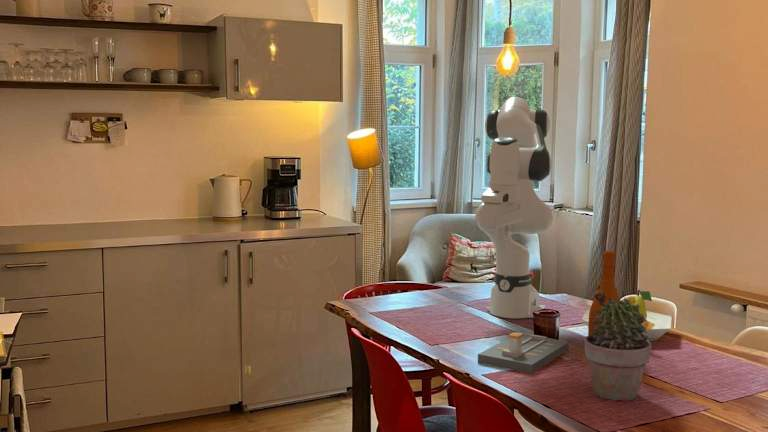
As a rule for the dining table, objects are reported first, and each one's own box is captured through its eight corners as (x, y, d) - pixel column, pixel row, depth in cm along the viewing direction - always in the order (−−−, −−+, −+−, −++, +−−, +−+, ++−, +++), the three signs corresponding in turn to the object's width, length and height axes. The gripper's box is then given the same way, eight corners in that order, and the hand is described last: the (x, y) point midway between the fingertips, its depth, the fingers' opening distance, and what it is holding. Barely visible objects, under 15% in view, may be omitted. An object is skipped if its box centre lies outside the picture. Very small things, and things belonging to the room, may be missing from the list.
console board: (518, 340, 233) (519, 328, 233) (569, 349, 224) (569, 337, 223) (477, 362, 212) (478, 349, 212) (531, 373, 203) (531, 360, 202)
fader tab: (513, 350, 215) (513, 332, 214) (522, 351, 213) (523, 333, 212) (508, 353, 212) (508, 334, 211) (517, 355, 210) (517, 336, 210)
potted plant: (651, 414, 175) (657, 307, 172) (568, 398, 185) (571, 296, 182) (669, 391, 190) (674, 292, 187) (590, 377, 200) (594, 283, 197)
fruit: (693, 337, 238) (695, 291, 236) (645, 352, 222) (647, 304, 220) (610, 317, 261) (611, 275, 259) (561, 330, 245) (562, 286, 243)
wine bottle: (623, 351, 223) (628, 248, 219) (622, 361, 214) (627, 254, 210) (588, 347, 226) (592, 246, 222) (586, 357, 217) (590, 252, 213)
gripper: (509, 189, 235) (508, 233, 237) (478, 196, 218) (477, 244, 220) (528, 190, 231) (527, 235, 234) (498, 198, 215) (497, 246, 217)
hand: (503, 240), depth 227 cm, fingers closed
